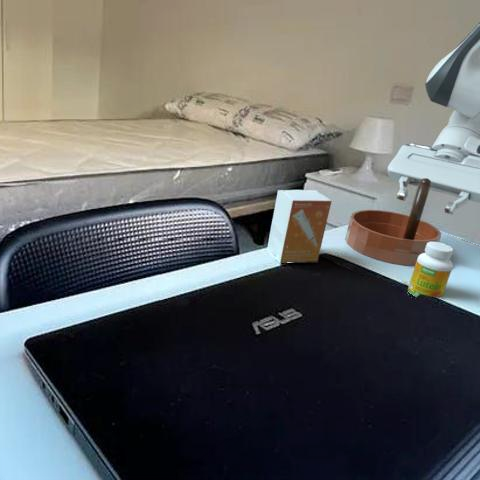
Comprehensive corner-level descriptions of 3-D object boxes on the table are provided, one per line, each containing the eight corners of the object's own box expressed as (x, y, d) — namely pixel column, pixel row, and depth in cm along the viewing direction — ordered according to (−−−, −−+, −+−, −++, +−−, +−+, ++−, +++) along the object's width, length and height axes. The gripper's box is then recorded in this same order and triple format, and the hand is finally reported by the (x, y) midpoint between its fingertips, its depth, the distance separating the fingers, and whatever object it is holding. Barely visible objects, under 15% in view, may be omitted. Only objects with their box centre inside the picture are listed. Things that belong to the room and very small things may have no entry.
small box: (279, 265, 94) (292, 200, 89) (265, 251, 100) (276, 189, 95) (318, 264, 96) (332, 200, 91) (302, 250, 102) (315, 189, 96)
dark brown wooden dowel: (422, 254, 103) (445, 180, 96) (412, 260, 99) (436, 183, 93) (397, 245, 106) (418, 173, 100) (386, 251, 103) (407, 176, 96)
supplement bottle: (407, 299, 85) (423, 248, 82) (406, 286, 90) (421, 237, 86) (442, 308, 84) (460, 255, 80) (438, 294, 88) (456, 244, 84)
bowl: (444, 255, 105) (453, 229, 103) (412, 277, 94) (421, 248, 92) (367, 229, 116) (373, 204, 114) (329, 245, 105) (336, 219, 103)
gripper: (403, 132, 107) (371, 182, 105) (511, 153, 94) (478, 211, 92) (406, 150, 112) (375, 199, 109) (509, 173, 99) (478, 229, 96)
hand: (423, 205), depth 100 cm, fingers open, 8 cm apart
